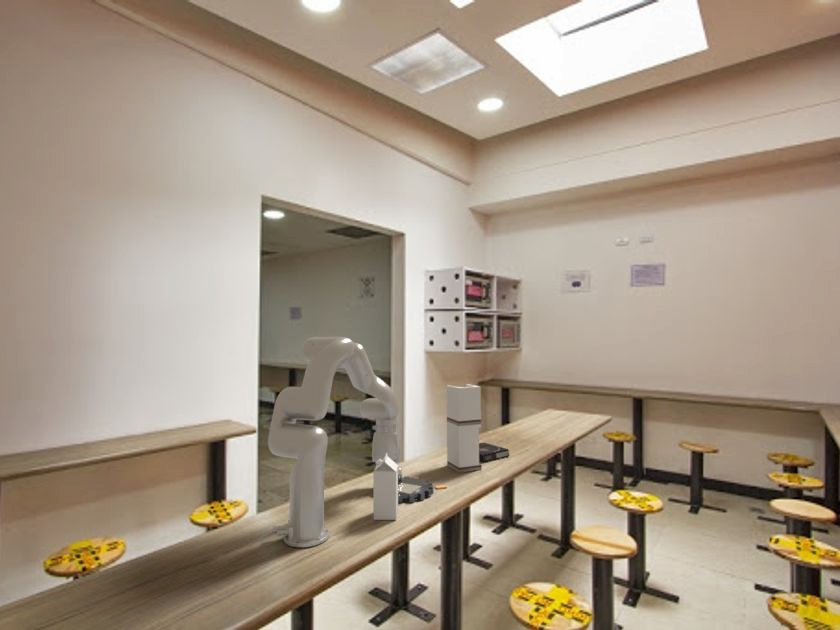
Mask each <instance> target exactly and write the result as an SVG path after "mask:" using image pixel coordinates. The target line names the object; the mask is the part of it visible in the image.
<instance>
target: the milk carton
mask: <svg viewBox="0 0 840 630" xmlns="http://www.w3.org/2000/svg"><path fill="white" fill-rule="evenodd" d="M375 464H376V465H375V467H374V469H373V472H372V473H373V478H372V480H373V488H372V489H373V520H374V521H397V518H398V515H399V502H398V467H399V464H398V463H395V462H394V461H393V460H391V459H390V458H389V457H388V456H387V453H386V456H385V458H384V459H383V460H381V459H379V460H378V461H377V462H376V463H375Z"/></svg>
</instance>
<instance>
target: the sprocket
mask: <svg viewBox="0 0 840 630" xmlns="http://www.w3.org/2000/svg"><path fill="white" fill-rule="evenodd" d="M402 473H403V472H402V467H399V466H398V503H401V504H402V503H403V502H408V503H413V502H415V501H416V500H420V501H422V500H425V499H426V497H427V498H430V497H431V496H432V494H434V485H433V482H431V481H428V479H427V478H426V479H425V478H424V479H421V478H420V477H418V476H414V477H410V476H406V475H405V476H404V477H403V476H402V475H403V474H402Z"/></svg>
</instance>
